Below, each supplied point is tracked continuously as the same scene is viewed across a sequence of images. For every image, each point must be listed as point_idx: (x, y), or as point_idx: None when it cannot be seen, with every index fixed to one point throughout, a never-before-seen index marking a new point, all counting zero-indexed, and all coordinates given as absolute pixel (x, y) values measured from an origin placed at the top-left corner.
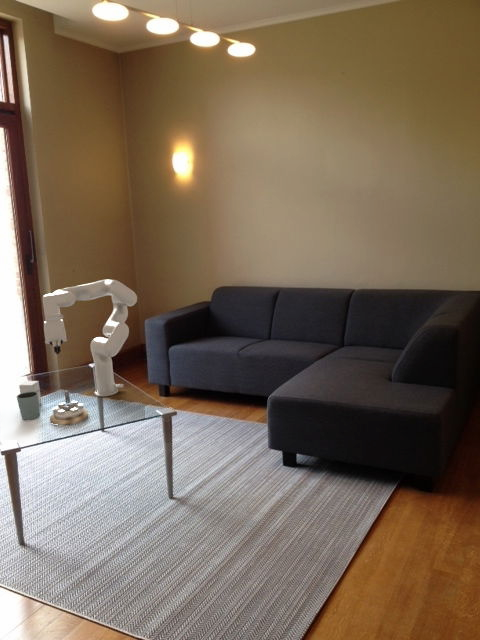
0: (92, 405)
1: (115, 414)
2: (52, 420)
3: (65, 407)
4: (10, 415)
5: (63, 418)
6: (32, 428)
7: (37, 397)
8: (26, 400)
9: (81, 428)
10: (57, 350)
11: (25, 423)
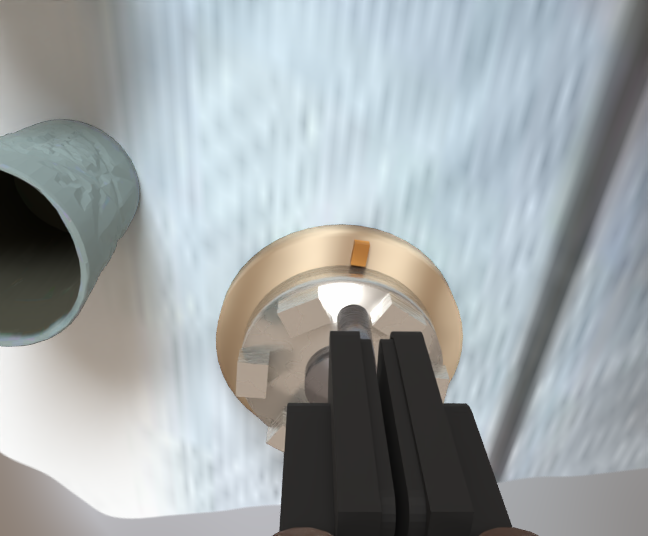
0: (534, 161)
1: (602, 391)
2: (233, 389)
3: (323, 402)
4: None
5: None
6: (117, 375)
7: (95, 278)
8: (7, 330)
9: None
10: (386, 390)
11: None
